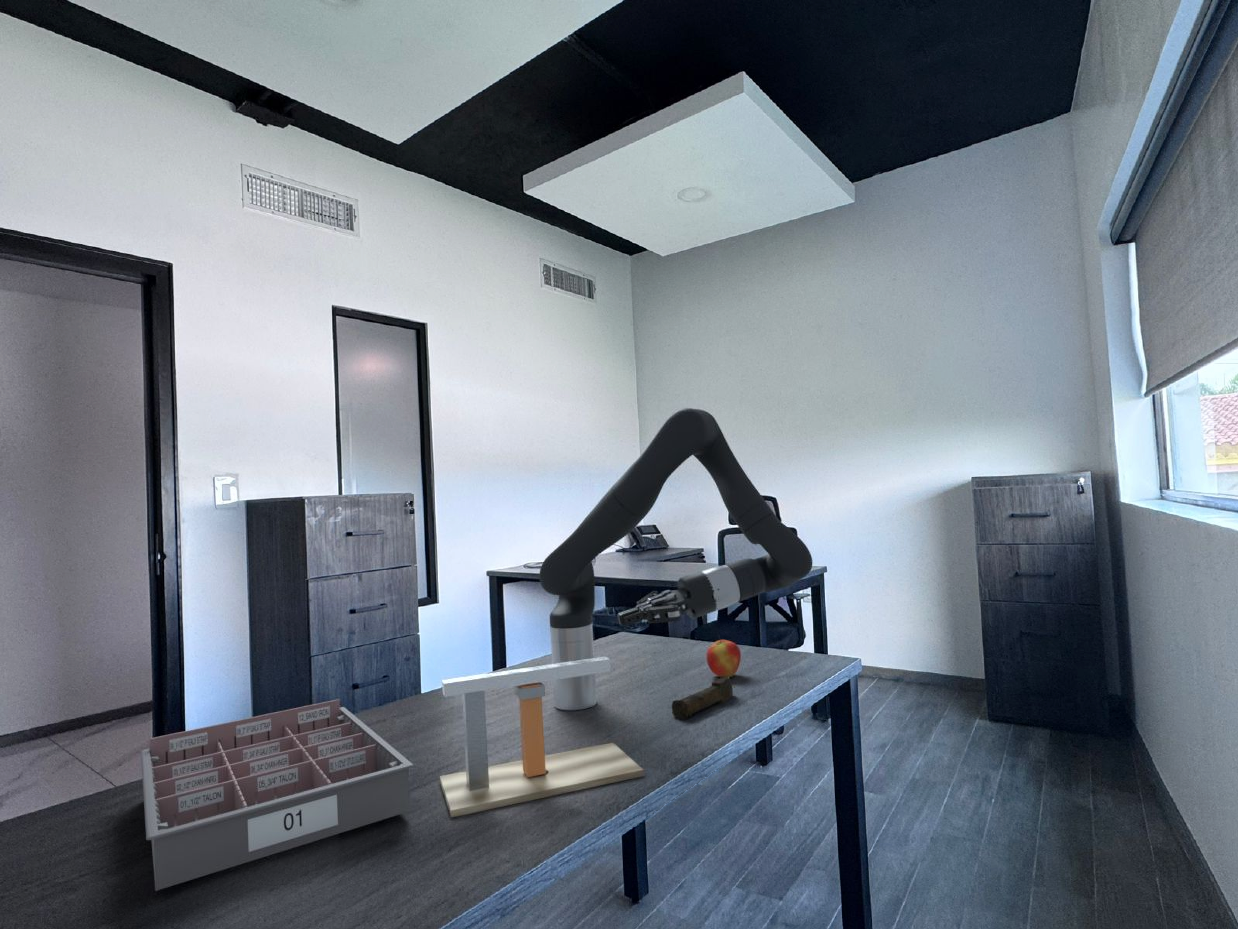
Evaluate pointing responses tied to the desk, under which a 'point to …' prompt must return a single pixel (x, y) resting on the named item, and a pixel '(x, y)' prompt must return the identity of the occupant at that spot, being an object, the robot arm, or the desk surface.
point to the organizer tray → (264, 788)
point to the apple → (723, 658)
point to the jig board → (540, 779)
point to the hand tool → (703, 698)
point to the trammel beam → (477, 684)
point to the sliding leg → (532, 728)
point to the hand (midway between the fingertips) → (619, 620)
